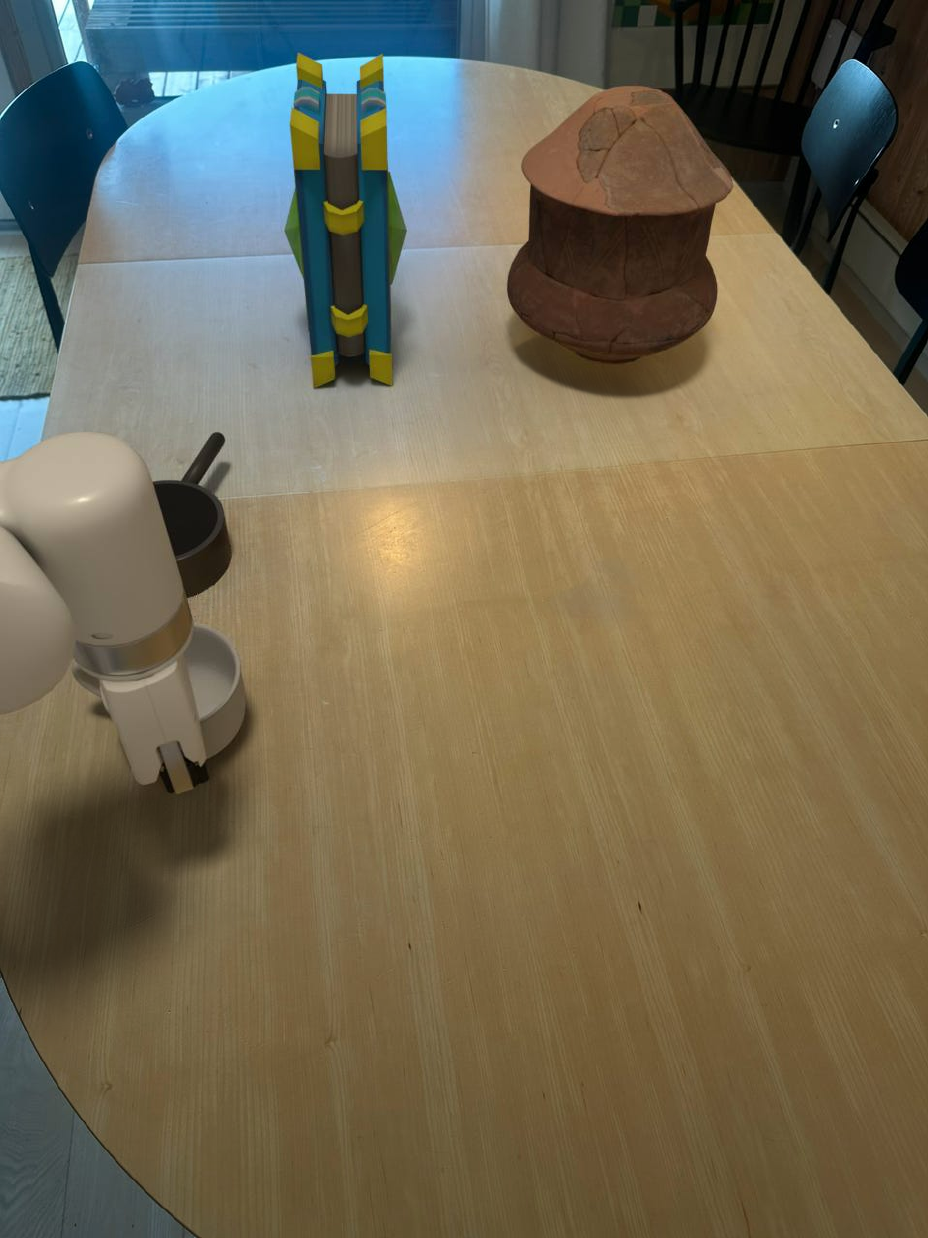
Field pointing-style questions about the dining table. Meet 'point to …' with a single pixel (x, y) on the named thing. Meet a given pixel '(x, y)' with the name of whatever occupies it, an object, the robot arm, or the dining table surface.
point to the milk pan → (196, 522)
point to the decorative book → (344, 218)
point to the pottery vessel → (619, 228)
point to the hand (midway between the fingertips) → (187, 779)
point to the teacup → (204, 686)
